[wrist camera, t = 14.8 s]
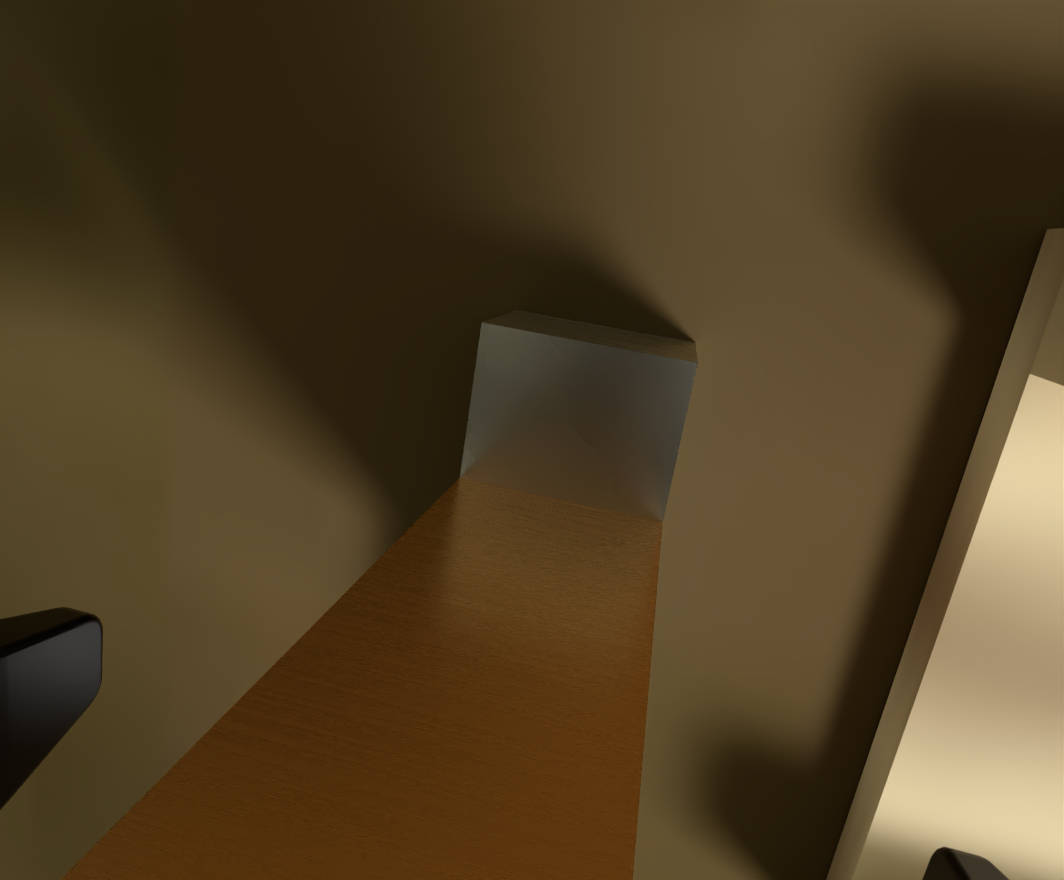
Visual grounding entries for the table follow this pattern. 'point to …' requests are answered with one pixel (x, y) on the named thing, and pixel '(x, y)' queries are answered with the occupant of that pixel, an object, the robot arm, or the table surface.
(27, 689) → the robot arm
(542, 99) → the table surface
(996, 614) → the slotted block
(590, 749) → the grey-ended wooden block
